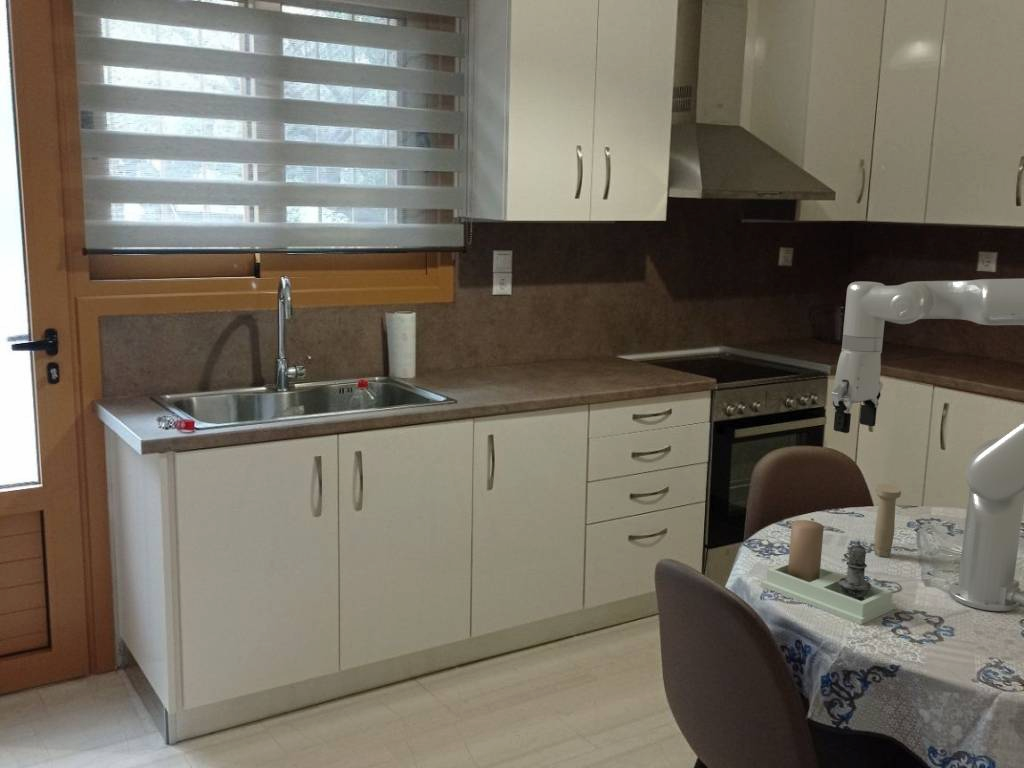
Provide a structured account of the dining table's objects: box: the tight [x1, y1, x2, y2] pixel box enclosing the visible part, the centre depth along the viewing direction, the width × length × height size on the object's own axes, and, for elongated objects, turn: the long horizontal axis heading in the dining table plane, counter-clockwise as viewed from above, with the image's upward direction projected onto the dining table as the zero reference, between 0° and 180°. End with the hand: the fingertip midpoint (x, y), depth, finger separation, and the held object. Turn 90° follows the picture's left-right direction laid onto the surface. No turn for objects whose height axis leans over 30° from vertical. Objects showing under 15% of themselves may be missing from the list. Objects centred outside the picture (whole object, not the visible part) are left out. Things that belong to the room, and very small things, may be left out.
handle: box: [873, 483, 902, 558], centre depth 214 cm, size 5×6×15 cm
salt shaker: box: [839, 540, 872, 601], centre depth 187 cm, size 6×6×12 cm
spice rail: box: [760, 519, 898, 626], centre depth 191 cm, size 22×12×13 cm, turn 39°
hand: (854, 428), depth 201 cm, fingers open, 9 cm apart
